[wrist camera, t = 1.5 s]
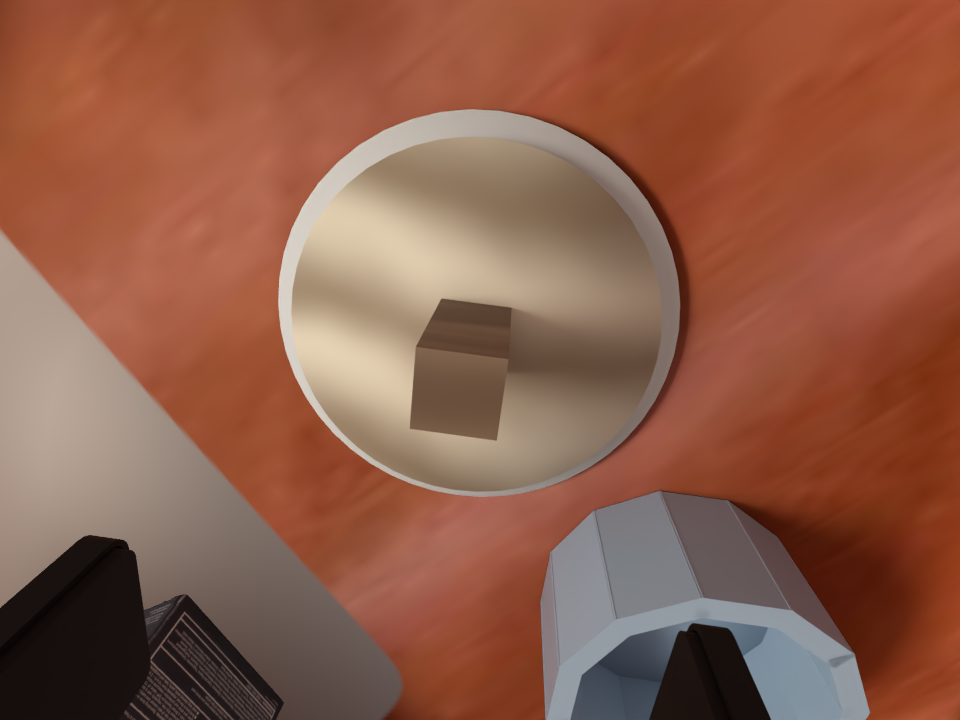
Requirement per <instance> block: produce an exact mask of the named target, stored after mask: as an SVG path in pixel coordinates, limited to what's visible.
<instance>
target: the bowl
mask: <svg viewBox="0 0 960 720" xmlns="http://www.w3.org/2000/svg"><path fill="white" fill-rule="evenodd" d="M692 623H697V624H704V625H711V626H718V627H724V628H728V629H729V630H730V631H731V632H732V633H733V635H734V637H735V639H736V641H737V644H738V646H739V648H740V650H741V653H742V655H743V657H744V659H745V662H746V664H747V666H748V668H749V671H750V673H751V675H752V677H753V680H754V682H755V684H756V686H757V689H758V691H759V693H760V695H761V698H762V700H763V702H764V704H765V707H766V709H767V711H768V713H769V716H770V718H771V720H866V718H867V716H868V715H869V714H870V710H869V708H868V704H867V700H866V696H865V693H864V689H863V685H862V681H861V677H860V674H859V670H858V666H857V662H856V658H855V654H854V652H853V651H852V649H851V648H850V646H849V644H848V643H847V641H846V640H845V638H844V637H843V635H842V634H841V632H840V631H839V629H838V628H837V626H836V625H835V623H834V622H833V620H832V619H831V617H830V616H829V614H828V613H827V611H826V610H825V608H824V607H823V605H822V604H821V602H820V601H819V599H818V598H817V596H816V595H815V593H814V592H813V590H812V588H811V587H810V585H809V584H808V582H807V581H806V579H805V578H804V576H803V575H802V573H801V572H800V570H799V569H798V567H797V566H796V564H795V563H794V561H793V560H792V558H791V557H790V555H789V554H788V552H787V551H786V549H785V548H784V546H783V545H782V543H781V542H780V540H779V539H778V537H777V536H775V535H774V534H773V533H771V532H770V531H769V530H767V529H766V528H765V527H763V526H762V525H760V524H759V523H758V522H756V521H755V520H754V519H752V518H751V517H750V516H748V515H747V514H746V513H744V512H743V511H741V510H740V509H739V508H737V507H736V506H735V505H733V504H732V503H731V502H729V501H728V500H721V499H713V498H706V497H699V496H692V495H684V494H677V493H670V492H663V491H658V492H654V493H651V494H648V495H644V496H641V497H638V498H634V499H631V500H628V501H624V502H621V503H618V504H614V505H611V506H608V507H604V508H601V509H598V510H594V511H592V513H591V514H590V515H589V516H588V517H587V518H585V519H584V520H583V521H582V522H581V523H580V524H579V525H578V526H577V527H576V528H575V529H574V530H573V531H572V532H571V533H570V534H569V535H568V536H567V537H566V538H565V539H564V540H563V541H562V542H561V543H559V544H558V545H557V546H556V547H555V548H554V549H553V550H552V551H551V552H550V558H549V563H548V568H547V573H546V578H545V583H544V587H543V592H542V597H541V624H542V647H543V670H544V693H545V716H546V720H649V718H650V715H651V712H652V709H653V706H654V703H655V700H656V697H657V694H658V691H659V688H660V685H661V682H662V679H663V676H664V673H665V670H666V667H667V664H668V661H669V658H670V655H671V652H672V649H673V646H674V643H675V639H676V636H677V634H678V632H679V631H687V630H688V628H689V626H690V625H691V624H692Z"/></svg>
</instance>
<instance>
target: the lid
mask: <svg viewBox="0 0 960 720" xmlns="http://www.w3.org/2000/svg"><path fill="white" fill-rule="evenodd" d="M291 315H292V327H293V337H294V341H295V346H296V350H297V355H298V359H299V361H300V364H301V367H302V370H303V373H304V375H305V378H306V380H307V382H308V384H309V386H310V388H311V390H312V392H313V394H314V396H315V398H316V399H317V401H318V402H319V404H320V405H321V407H322V408H323V410H324V411H325V413H326V414H327V416H328V417H329V418H330V419H331V421H332V422H333V423H334V424H335V425H336V426H337V428H338V429H339V430H340V431H341V432H342V433H343V434H344V435H345V436H346V437H347V438H348V439H349V440H350V441H351V442H352V443H354V444H355V445H356V446H357V447H358V448H359V449H361V450H362V451H363V452H365V453H366V454H367V455H369V456H370V457H371V458H373V459H374V460H376V461H377V462H379V463H381V464H383V465H384V466H386V467H388V468H390V469H391V470H393V471H395V472H397V473H400V474H402V475H404V476H407V477H409V478H411V479H413V480H417V481H420V482H423V483H426V484H429V485H433V486H437V487H442V488H447V489H453V490H461V491H473V492H484V491H502V490H509V489H516V488H521V487H525V486H529V485H533V484H537V483H540V482H543V481H546V480H548V479H551V478H553V477H556V476H559V475H561V474H563V473H565V472H566V471H568V470H570V469H572V468H574V467H576V466H578V465H580V464H581V463H582V462H584V461H585V460H587V459H588V458H590V457H591V456H593V455H594V454H595V453H597V452H598V451H599V450H600V449H601V448H602V447H604V446H605V445H606V444H607V443H608V442H609V441H610V440H611V439H613V437H614V436H615V435H616V434H617V433H618V432H619V431H620V429H621V428H622V427H623V426H624V425H625V424H626V423H627V421H628V420H629V418H630V417H631V415H632V414H633V412H634V411H635V409H636V408H637V406H638V405H639V403H640V401H641V399H642V397H643V395H644V393H645V391H646V389H647V387H648V385H649V383H650V380H651V377H652V374H653V371H654V368H655V365H656V362H657V358H658V352H659V347H660V341H661V329H662V308H661V298H660V289H659V285H658V281H657V277H656V273H655V269H654V265H653V263H652V260H651V258H650V255H649V253H648V250H647V248H646V245H645V243H644V241H643V239H642V237H641V236H640V234H639V232H638V231H637V229H636V227H635V225H634V224H633V222H632V220H631V219H630V218H629V216H628V215H627V214H626V213H625V211H624V210H623V209H622V208H621V206H620V205H619V204H618V202H617V201H616V200H615V199H614V198H613V197H612V196H611V195H610V194H609V193H608V192H607V191H606V190H605V189H604V188H603V187H602V186H600V185H599V184H598V183H597V182H596V181H595V180H594V179H592V178H591V177H589V176H588V175H587V174H585V173H584V172H582V171H581V170H580V169H578V168H577V167H575V166H574V165H572V164H570V163H568V162H566V161H565V160H563V159H561V158H559V157H557V156H555V155H553V154H551V153H549V152H546V151H543V150H540V149H538V148H535V147H532V146H529V145H526V144H523V143H518V142H513V141H508V140H503V139H498V138H485V137H458V138H447V139H439V140H435V141H431V142H426V143H422V144H418V145H414V146H412V147H409V148H407V149H404V150H402V151H399V152H396V153H394V154H391V155H389V156H387V157H386V158H384V159H382V160H380V161H379V162H377V163H375V164H374V165H372V166H370V167H368V168H367V169H365V170H364V171H363V172H362V173H360V174H359V175H358V176H357V177H355V178H354V179H353V180H351V181H350V182H349V183H348V184H347V185H346V186H345V187H344V188H343V189H342V190H341V191H340V192H339V193H338V194H337V195H336V196H335V197H334V198H333V199H332V200H331V201H330V203H329V204H328V205H327V207H326V208H325V210H324V211H323V212H322V214H321V215H320V217H319V218H318V220H317V221H316V222H315V224H314V226H313V228H312V230H311V232H310V234H309V236H308V238H307V240H306V242H305V244H304V247H303V250H302V253H301V256H300V259H299V262H298V264H297V268H296V273H295V279H294V284H293V289H292V308H291Z"/></svg>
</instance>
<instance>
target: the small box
mask: <svg viewBox="0 0 960 720" xmlns="http://www.w3.org/2000/svg"><path fill="white" fill-rule="evenodd" d="M144 617H145V624H146V631H147V638H148V645H149V652H150V659H151V666H150V671H149V674H148V677H147V679H146V681H145V683H144V685H143V686H142V688H141V689H140V691H139V692H138V693H137V695H136V696H135V698H134V699H133V700H132V702H131V703H130V705H129V706H128V707H127V709H126V710H125V712H124V713H123V714H122V716H121V717H120V719H119V720H276V718H277V716H278V713H279V712H280V710H281V708H282V706H283V701H282V700H281V698H280V697H279V696H278V695H277V694H276V693H275V692H274V691H273V689H272V688H271V687H270V686H269V685H268V684H267V683H266V682H265V681H264V680H263V678H262V677H261V676H260V675H259V674H258V673H257V672H256V671H255V670H254V668H252V666H251V665H250V664H249V663H248V662H247V661H246V660H245V658H243V656H242V655H241V654H240V653H239V652H238V651H237V649H236V648H235V647H234V646H233V645H232V644H231V643H230V642H229V641H228V640H227V639H226V637H225V636H224V635H223V634H222V633H221V632H220V631H219V630H218V628H217V627H216V626H215V625H214V624H213V623H212V622H211V620H210V619H209V618H208V617H207V616H206V615H205V614H204V613H203V612H202V611H201V609H200V608H199V607H198V606H197V605H196V604H195V603H194V602H193V600H192V599H190V597H189V596H188V595H179V596H176V597H174V598H172V599H171V600H169V601H165V602H163V603H161V604H159V605H156V606H154V607H152V608H149V609H146V610H144Z"/></svg>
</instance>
